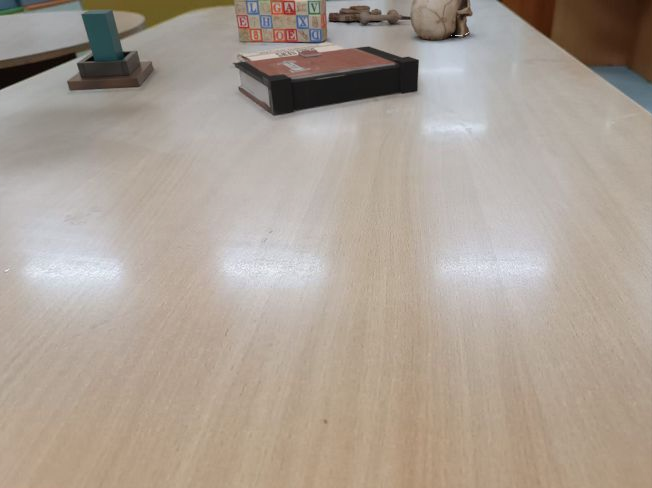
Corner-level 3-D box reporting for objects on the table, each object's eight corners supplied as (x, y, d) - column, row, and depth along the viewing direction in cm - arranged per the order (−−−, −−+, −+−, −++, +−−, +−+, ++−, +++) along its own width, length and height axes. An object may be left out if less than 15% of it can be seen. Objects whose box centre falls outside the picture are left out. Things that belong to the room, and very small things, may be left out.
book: (366, 70, 100) (366, 42, 97) (417, 90, 87) (418, 59, 85) (237, 89, 90) (233, 59, 87) (273, 115, 77) (270, 81, 74)
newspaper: (320, 49, 118) (320, 37, 117) (351, 63, 111) (351, 51, 109) (229, 61, 107) (228, 49, 105) (256, 79, 100) (255, 66, 98)
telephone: (443, 24, 143) (444, 7, 141) (325, 25, 145) (325, 9, 142) (438, 19, 156) (439, 3, 154) (330, 20, 158) (330, 4, 155)
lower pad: (69, 90, 91) (61, 66, 88) (91, 71, 102) (85, 50, 100) (139, 86, 92) (133, 63, 90) (153, 68, 104) (148, 47, 101)
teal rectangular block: (98, 74, 94) (80, 14, 88) (105, 68, 98) (89, 10, 92) (120, 73, 94) (105, 13, 89) (127, 67, 99) (112, 9, 93)
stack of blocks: (328, 38, 129) (325, -18, 122) (322, 43, 124) (319, -15, 117) (247, 37, 132) (241, -18, 125) (238, 41, 127) (231, -15, 120)
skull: (467, 28, 137) (471, -28, 128) (475, 49, 124) (481, -13, 115) (408, 31, 138) (409, -25, 129) (410, 52, 125) (411, -9, 116)
